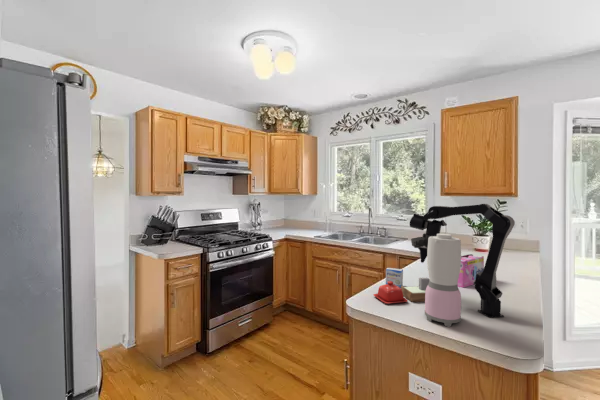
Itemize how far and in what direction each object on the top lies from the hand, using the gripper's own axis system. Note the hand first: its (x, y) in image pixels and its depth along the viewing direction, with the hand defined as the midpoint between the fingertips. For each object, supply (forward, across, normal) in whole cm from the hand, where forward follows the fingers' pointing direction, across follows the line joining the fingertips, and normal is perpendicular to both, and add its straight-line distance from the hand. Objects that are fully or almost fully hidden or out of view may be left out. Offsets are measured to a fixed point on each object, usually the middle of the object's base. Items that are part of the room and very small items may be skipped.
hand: (426, 266), depth 134 cm
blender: (+12, +25, -1) cm, 28 cm away
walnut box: (+14, +3, -1) cm, 15 cm away
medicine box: (+17, -14, -8) cm, 23 cm away
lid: (+11, +3, -2) cm, 12 cm away
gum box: (+13, -22, +34) cm, 42 cm away
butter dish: (+16, +7, -16) cm, 23 cm away
